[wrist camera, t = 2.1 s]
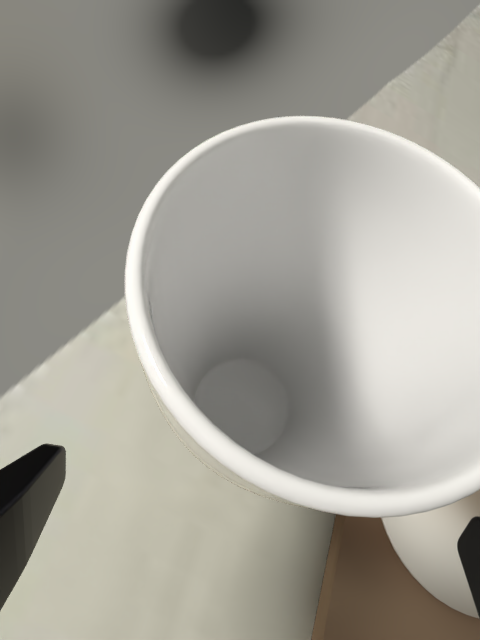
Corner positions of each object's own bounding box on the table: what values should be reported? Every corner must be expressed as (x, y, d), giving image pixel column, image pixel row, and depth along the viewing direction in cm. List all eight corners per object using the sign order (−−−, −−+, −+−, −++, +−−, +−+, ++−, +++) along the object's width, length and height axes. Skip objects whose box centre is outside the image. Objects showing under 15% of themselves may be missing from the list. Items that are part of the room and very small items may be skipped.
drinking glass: (317, 388, 20) (591, 220, 6) (262, 505, 17) (528, 664, 4) (215, 329, 21) (259, 58, 7) (148, 434, 18) (-4, 335, 4)
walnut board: (577, 946, 13) (619, 999, 12) (274, 827, 13) (283, 866, 12) (556, 422, 21) (580, 419, 20) (367, 353, 21) (378, 346, 20)
